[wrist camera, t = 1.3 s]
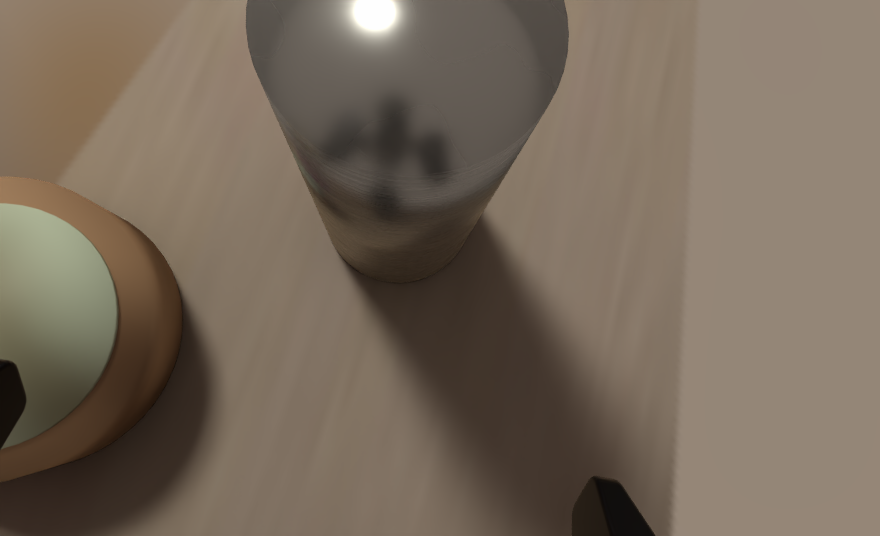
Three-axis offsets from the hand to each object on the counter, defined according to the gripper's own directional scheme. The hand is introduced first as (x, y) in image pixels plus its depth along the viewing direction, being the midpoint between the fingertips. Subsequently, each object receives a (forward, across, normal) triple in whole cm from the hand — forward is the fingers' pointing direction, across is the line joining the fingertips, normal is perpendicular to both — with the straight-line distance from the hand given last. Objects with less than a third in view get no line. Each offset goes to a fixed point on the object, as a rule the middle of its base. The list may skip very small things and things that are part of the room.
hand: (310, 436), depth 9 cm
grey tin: (+15, 0, +4) cm, 15 cm away
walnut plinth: (+9, +12, +9) cm, 18 cm away
